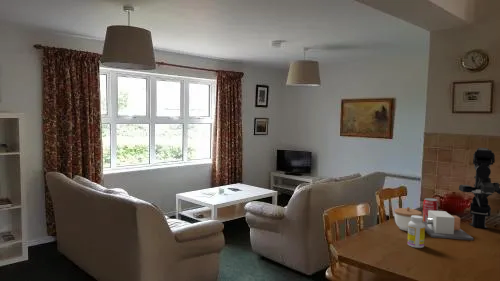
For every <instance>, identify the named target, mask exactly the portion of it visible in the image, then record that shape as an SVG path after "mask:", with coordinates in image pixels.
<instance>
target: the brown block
mask: <svg viewBox="0 0 500 281" xmlns="http://www.w3.org/2000/svg"><path fill="white" fill-rule="evenodd" d="M450 215H451V214H450ZM451 216H453V217H454V218H455V219H454V230H459V231H460V229H461V217H459V216H458V215H451ZM426 222H427V224H433V218H427V220H426Z"/></svg>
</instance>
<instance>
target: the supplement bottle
mask: <svg viewBox="0 0 500 281" xmlns="http://www.w3.org/2000/svg"><path fill="white" fill-rule="evenodd" d="M425 236H426V232H425V223H424V222H423V216H422V217H421V216H417V215H412V216H411V221H410V222H409V223H408V231H407V245H408V246H409V247H411V248H416V249H421V248H422V249H423V248H424V247H425V238H426V237H425Z"/></svg>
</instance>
